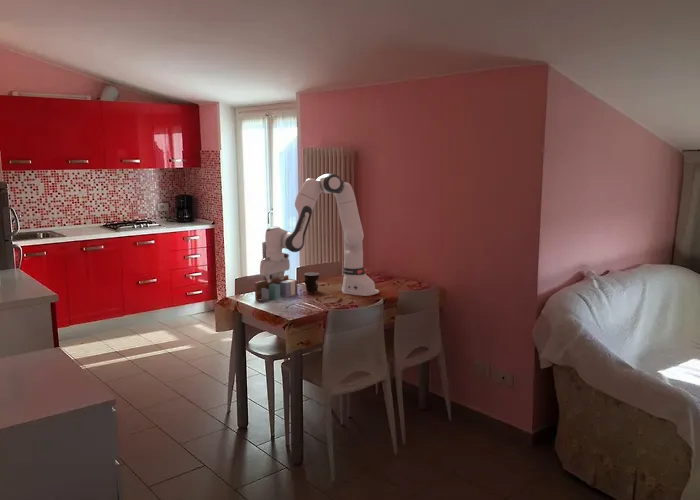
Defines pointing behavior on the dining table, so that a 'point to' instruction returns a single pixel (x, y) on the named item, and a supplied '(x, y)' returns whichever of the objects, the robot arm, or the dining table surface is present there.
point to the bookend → (264, 296)
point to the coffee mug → (311, 281)
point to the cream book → (292, 287)
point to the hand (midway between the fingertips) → (275, 280)
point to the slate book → (285, 289)
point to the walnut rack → (266, 285)
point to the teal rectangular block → (274, 291)
